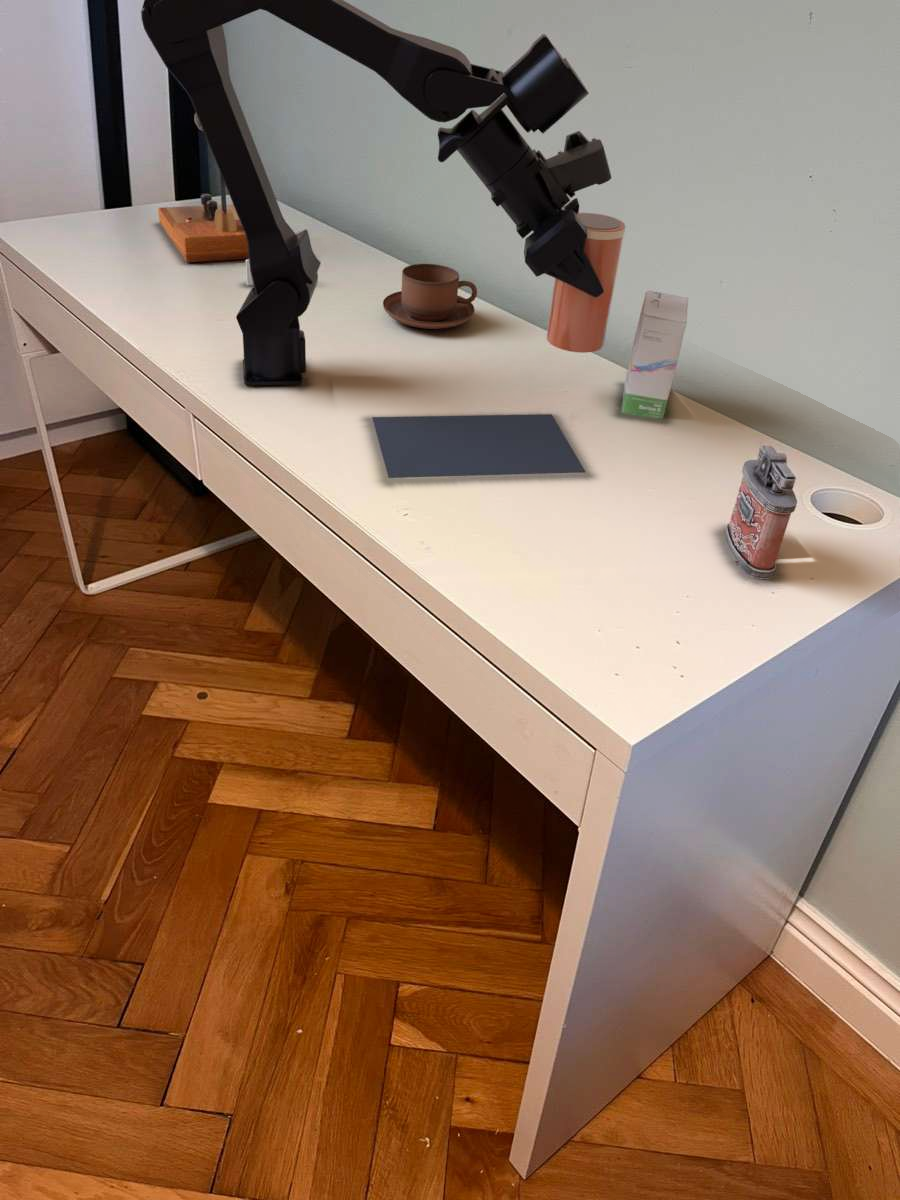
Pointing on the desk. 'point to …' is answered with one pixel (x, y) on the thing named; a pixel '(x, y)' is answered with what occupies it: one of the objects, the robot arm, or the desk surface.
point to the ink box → (654, 354)
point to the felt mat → (474, 445)
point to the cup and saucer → (430, 298)
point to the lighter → (761, 512)
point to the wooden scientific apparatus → (207, 229)
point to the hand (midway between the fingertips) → (597, 283)
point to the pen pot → (576, 312)
